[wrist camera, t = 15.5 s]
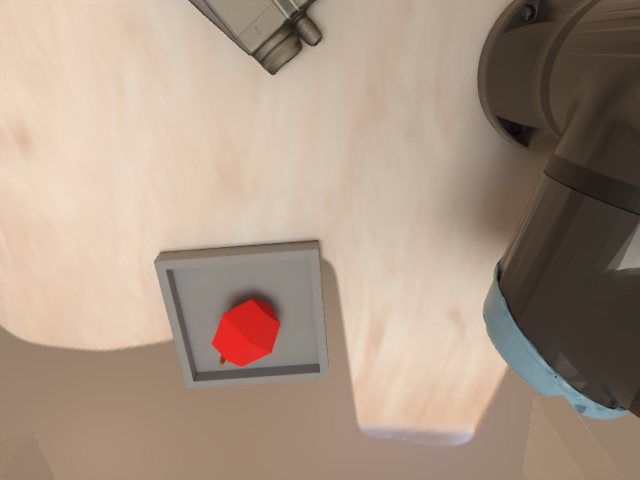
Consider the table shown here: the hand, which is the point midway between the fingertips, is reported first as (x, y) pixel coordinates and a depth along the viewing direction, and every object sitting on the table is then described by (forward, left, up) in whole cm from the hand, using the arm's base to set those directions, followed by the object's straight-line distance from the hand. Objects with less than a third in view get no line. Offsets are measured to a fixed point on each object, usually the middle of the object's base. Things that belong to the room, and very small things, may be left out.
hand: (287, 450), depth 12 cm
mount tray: (+8, +18, -35) cm, 40 cm away
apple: (+8, +18, -34) cm, 40 cm away
